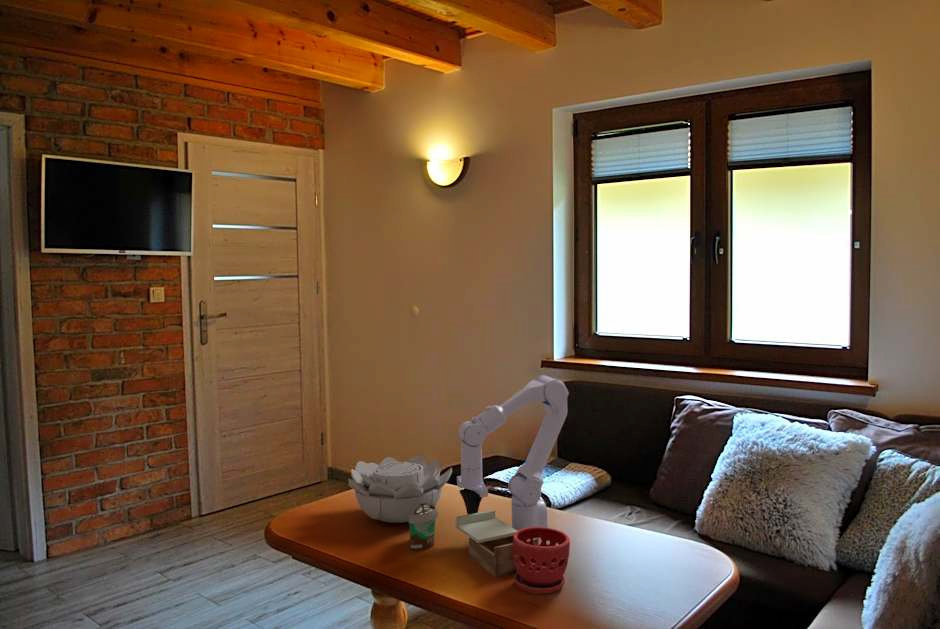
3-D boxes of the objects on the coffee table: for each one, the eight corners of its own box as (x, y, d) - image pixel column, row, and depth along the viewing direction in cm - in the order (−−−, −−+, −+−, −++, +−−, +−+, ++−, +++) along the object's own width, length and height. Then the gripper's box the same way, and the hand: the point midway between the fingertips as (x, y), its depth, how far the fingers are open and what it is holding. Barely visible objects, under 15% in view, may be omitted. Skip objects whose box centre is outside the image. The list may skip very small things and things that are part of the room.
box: (509, 548, 195) (509, 521, 194) (538, 567, 182) (538, 538, 182) (469, 557, 189) (468, 529, 189) (496, 577, 177) (495, 548, 176)
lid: (494, 519, 201) (494, 509, 201) (518, 534, 190) (518, 523, 190) (455, 527, 196) (455, 516, 196) (478, 543, 185) (477, 532, 184)
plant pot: (529, 603, 163) (529, 550, 163) (503, 580, 176) (503, 530, 175) (580, 591, 169) (580, 540, 168) (551, 570, 181) (551, 522, 180)
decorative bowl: (393, 495, 241) (392, 449, 240) (467, 512, 223) (466, 463, 222) (323, 522, 216) (322, 472, 215) (401, 544, 199) (399, 489, 198)
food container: (432, 554, 191) (431, 516, 191) (409, 553, 193) (408, 515, 192) (443, 537, 203) (442, 501, 203) (421, 535, 205) (421, 500, 204)
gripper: (446, 462, 204) (447, 510, 205) (470, 475, 191) (471, 527, 192) (469, 458, 207) (470, 506, 208) (494, 471, 194) (495, 522, 195)
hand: (472, 516), depth 200 cm, fingers closed
